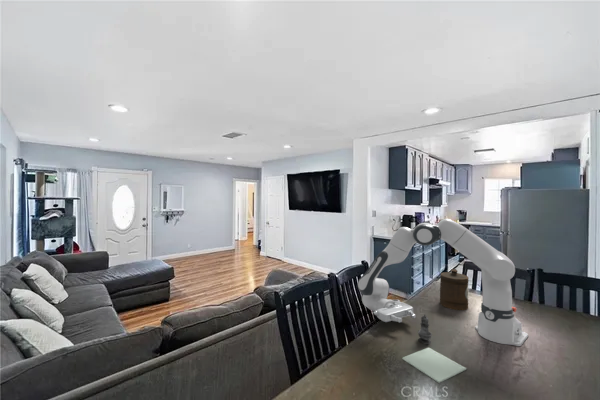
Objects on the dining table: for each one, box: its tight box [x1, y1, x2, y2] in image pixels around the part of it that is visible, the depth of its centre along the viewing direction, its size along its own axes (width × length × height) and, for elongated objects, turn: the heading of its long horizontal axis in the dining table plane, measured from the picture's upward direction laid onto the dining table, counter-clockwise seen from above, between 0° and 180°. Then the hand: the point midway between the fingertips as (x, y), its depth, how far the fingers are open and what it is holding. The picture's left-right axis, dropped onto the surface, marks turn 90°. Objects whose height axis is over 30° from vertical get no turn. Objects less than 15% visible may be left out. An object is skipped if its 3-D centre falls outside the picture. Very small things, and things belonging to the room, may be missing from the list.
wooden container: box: [439, 268, 469, 311], centre depth 163 cm, size 15×15×22 cm
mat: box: [401, 347, 467, 384], centre depth 105 cm, size 16×16×1 cm
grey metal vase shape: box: [417, 314, 433, 345], centre depth 122 cm, size 6×6×12 cm
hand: (407, 318), depth 130 cm, fingers open, 8 cm apart
